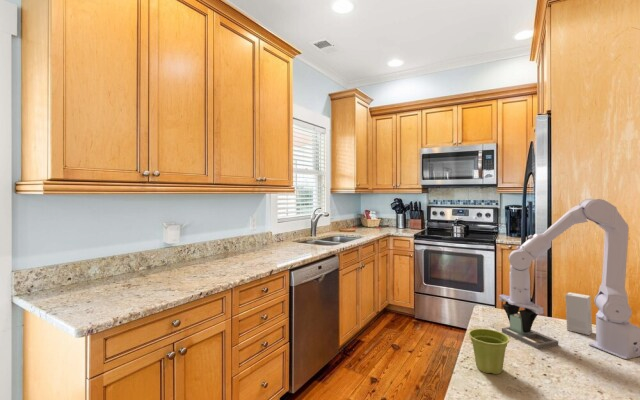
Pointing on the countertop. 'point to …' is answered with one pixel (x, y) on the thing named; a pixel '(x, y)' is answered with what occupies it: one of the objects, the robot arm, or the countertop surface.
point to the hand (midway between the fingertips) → (520, 329)
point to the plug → (517, 324)
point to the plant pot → (489, 349)
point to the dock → (532, 334)
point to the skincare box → (579, 313)
